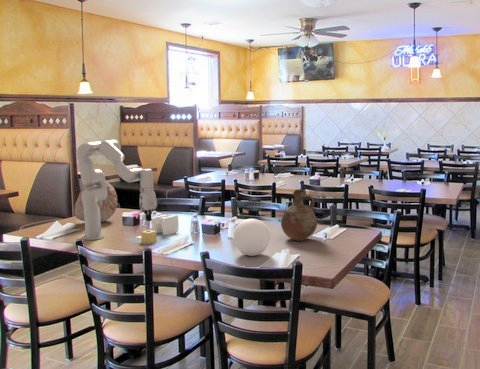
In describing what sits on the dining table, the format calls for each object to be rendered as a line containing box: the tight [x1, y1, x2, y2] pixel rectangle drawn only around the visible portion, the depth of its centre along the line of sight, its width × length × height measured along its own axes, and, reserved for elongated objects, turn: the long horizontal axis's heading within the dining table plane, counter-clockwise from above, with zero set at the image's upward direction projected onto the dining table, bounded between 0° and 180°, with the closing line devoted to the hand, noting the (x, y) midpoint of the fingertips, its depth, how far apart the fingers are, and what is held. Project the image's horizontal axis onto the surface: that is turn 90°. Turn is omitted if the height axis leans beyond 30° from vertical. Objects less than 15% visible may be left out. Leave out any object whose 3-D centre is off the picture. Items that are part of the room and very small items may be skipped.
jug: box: [280, 189, 318, 242], centre depth 308 cm, size 22×22×30 cm
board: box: [124, 235, 170, 246], centre depth 310 cm, size 22×18×5 cm
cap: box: [140, 229, 157, 244], centre depth 304 cm, size 6×6×7 cm
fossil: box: [74, 181, 119, 223], centre depth 363 cm, size 31×26×30 cm
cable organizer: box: [150, 213, 179, 236], centre depth 328 cm, size 15×11×12 cm
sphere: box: [232, 218, 271, 257], centre depth 276 cm, size 20×20×20 cm
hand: (148, 220), depth 303 cm, fingers closed
